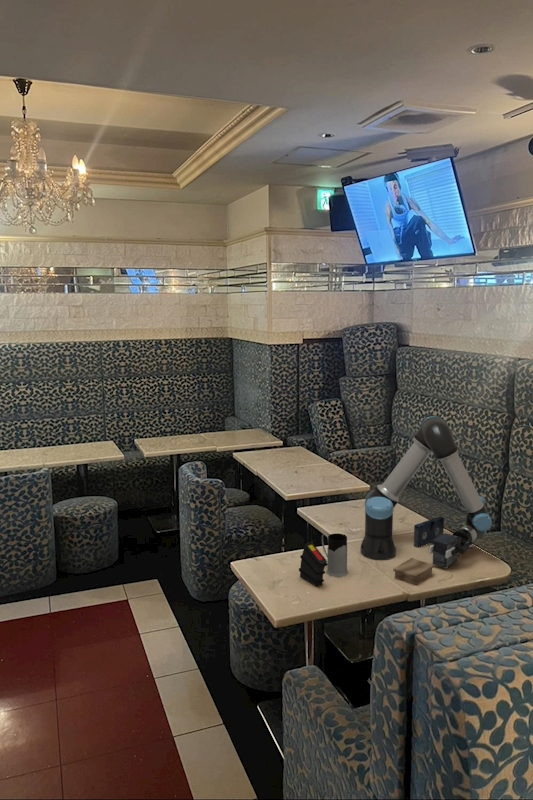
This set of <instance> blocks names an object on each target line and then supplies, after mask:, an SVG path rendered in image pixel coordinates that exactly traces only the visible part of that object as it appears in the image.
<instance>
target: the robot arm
mask: <svg viewBox="0 0 533 800" xmlns="http://www.w3.org/2000/svg"><path fill="white" fill-rule="evenodd" d="M458 451H459V449H458V446H457V444H456V442H455V439H454V436H453V433H452V430H451V428H450V427H449V425H448V422H446V421H445V419H443V418H441V417H439V416H437V415H435V416H434V415H433V416H428V417H426V418H425V419H424V420H423V421H422V422H421V423H420V426H419V429H418V431H417V432H416V433H415V434H414V436H413V443H412V444H411V446H410V447H409V448H408V449H407V451H406V452H405V454H404V455H403V456H402V457H401V459H400V461H399V462H398V463H397V464H396V466H394V468H393V470H392V471H391V472H390V474H389V475H388V476H387V478H386V479H385V480H384V482H383V483H381V484H377V485H376V487H375V488H374V489H373V490H372V491H370V492H369V493H368V494H367V496H366V497H365V500H364V510H365V511H364V512H365V513H364V514H365V515H364V517H365V518H364V521H365V522H364V537H363V539H362V542H361V544H360V551H359V552H360V554H361V555H362V556H364V557H366V558H368V559H372V560H378V561H379V560H381V561H382V560H384V561H385V560H391V559H392V558H393V559H394V557H396V554H397V548H396V545H395V541H394V538H393V527H394V526H393V525H394V523H393V521H394V520H393V519H394V509H395V507H396V506H397V504H398V503H399V502H400V499H399V498H400V497H399V496H400V495H401V493H403V491H404V489H405V488H406V486H407V485H408V484H409V482H410V481H411V480H412V479H413V477H414V476H415V475H416V473H418V471H419V470H420V468H421V467H422V466H423V465H424V463H425V461H427V458H429V456H430V455H431V454H434V457H435V458H436V460H438V461H440V463H441V465H442V466H443V468H444V471H445V472H446V475H447V476H448V478H449V480H450V483H451V484H452V487H453V488H454V490H455V492H456V493H457V496H458V498H459V499H460V502H461V503H462V505H463V507H464V509H465V511H466V513H465V515H466V516H465V525H464V526H462V527H460V528H458V529H457V530H455V531H454V532H453V533H452V535H454V536H458V544H457V545H456V549H455V547H452V548H451V549H449V550H447V551H446V557H445V558H449V557H450V556H452V555H455V554H457V555H458V554H460V555H465V554H466V553H467V551H469V550H471V549H473V544H474V542H476V541H477V540H480V539H482V537H484V536H485V535H486V533H487V531H488V530H490V529H491V527H492V524H493V521H492V517H491V515H490V514H489V513H488V510H487V509H486V499H485V498H484V496H481V495H479V493H478V491H477V489H476V487H475V485H474V483H473V481H472V479H471V477H470V475H469V474H468V471H467V470H466V468H465V465H464V463H463V461H462V459H461V457H460V455H459V454H458ZM443 534H444V533H443ZM443 534H442V535H443ZM435 539H437V538H435ZM435 539H433V540H432V543H431V545H430V546H429V550H428V552H429V554H433V544H434V540H435Z"/></svg>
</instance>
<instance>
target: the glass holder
mask: <svg viewBox="0 0 533 800" xmlns="http://www.w3.org/2000/svg"><path fill="white" fill-rule="evenodd" d="M324 536H326V538H327V550H326V548H325V543H324ZM321 546H322V549H323V552H324V554H325V556H326V558H327V564H328V565H327V566H326V568H327V569H326V572H325V574H327V575H328V576H330V577H332V576H333V578H342V577H343V576H344V577H346V576H348V575H349V571H348V536H347V535H346V534H343V533H331V534H327V533H323V534H322V535H321ZM347 574H348V575H347Z"/></svg>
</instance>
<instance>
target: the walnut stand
mask: <svg viewBox="0 0 533 800" xmlns="http://www.w3.org/2000/svg"><path fill="white" fill-rule="evenodd" d="M433 568H435V565H434V564H433V563H430V562H426V561H423V560H420V559H417V558H414V557H411V558H409V559H407V560H406V561H403V562H402V563H399V565H397V566H395V567H393V568H392V569H393V570H392V571H393V572H394V579H396V580H399V581H403V582H404V581H405V583H408V584H411V585H412V586H416V585H418V584H419V583H421V582H422V581H424V580H426V579H427V578H428V577H430V576H432V575H433Z"/></svg>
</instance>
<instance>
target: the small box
mask: <svg viewBox="0 0 533 800" xmlns="http://www.w3.org/2000/svg"><path fill="white" fill-rule="evenodd" d="M457 544H458V536H454V535H453V534H449V533H444V532H443V535H441V536H440V537H438V538H437V539H435V540H434V544H433V553H432V554H433V555H432V564H433V565H434V566H437V567H440V568H445V569H447V568H448V567H450V566H451V565H453V564H454V563H455V562H457V561H458V554H455V555H452V556H450V557H449V558H445V557H446V551H447V550H449V549H451V548H452V547H455V549H456V545H457Z"/></svg>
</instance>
